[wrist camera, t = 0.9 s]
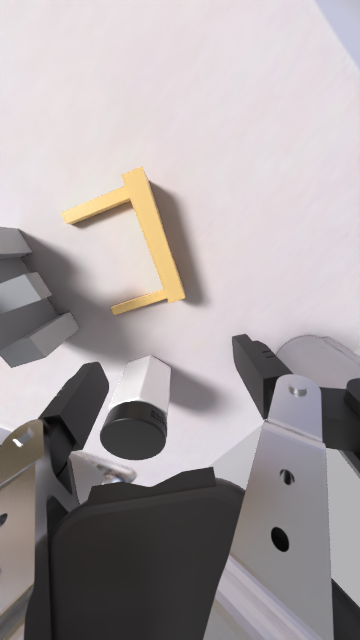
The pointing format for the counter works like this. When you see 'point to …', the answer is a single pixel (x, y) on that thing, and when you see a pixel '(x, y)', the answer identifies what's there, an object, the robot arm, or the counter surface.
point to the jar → (138, 411)
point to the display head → (26, 307)
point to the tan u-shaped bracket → (153, 232)
